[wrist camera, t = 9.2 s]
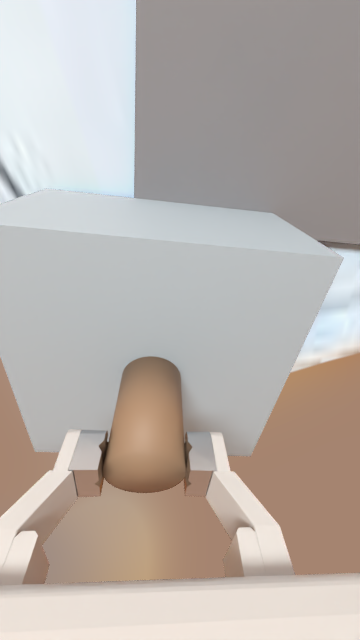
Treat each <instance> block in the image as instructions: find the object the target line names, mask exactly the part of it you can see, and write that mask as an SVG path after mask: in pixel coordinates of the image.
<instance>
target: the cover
mask: <svg viewBox="0 0 360 640" xmlns="http://www.w3.org/2000/svg"><path fill="white" fill-rule="evenodd" d="M343 258H344V257H342V256H341V255H339V254H337V253H336V252H334V251H333V250H331V249H329V248H328V247H326V246H325V245H323V244H321V243H320V242H318V241H317V240H315V239H313V238H312V237H310V236H309V235H307V234H305V233H304V232H302V231H301V230H299V229H297V228H296V227H294V226H293V225H291V224H289V223H288V222H286V221H285V220H283V219H281V218H280V217H278V216H277V215H275V214H273V213H267V212H258V211H249V210H240V209H230V208H221V207H212V206H203V205H194V204H184V203H175V202H166V201H157V200H148V199H138V198H129V197H120V196H111V195H102V194H92V193H83V192H74V191H65V190H56V189H47V188H46V189H43V190H40V191H37V192H34V193H31V194H28V195H25V196H22V197H19V198H16V199H13V200H10V201H7V202H4V203H1V204H0V357H1V360H2V362H3V365H4V368H5V371H6V373H7V376H8V379H9V382H10V384H11V387H12V390H13V392H14V395H15V398H16V401H17V404H18V406H19V409H20V412H21V415H22V417H23V420H24V423H25V426H26V428H27V431H28V434H29V437H30V439H31V442H32V445H33V448H34V450H35V452H60V450H61V447H62V444H63V442H64V439H65V436H66V433H67V432H68V430H69V429H82V430H108V438H107V442H108V447H107V452H106V456H105V461H104V466H103V476H104V478H105V480H106V481H107V482H108V483H109V484H111V485H113V486H114V487H116V488H119V489H122V490H125V491H129V492H137V493H152V492H159V491H163V490H167V489H170V488H172V487H174V486H176V485H177V484H179V483H180V482H181V481H182V480H183V479H184V477H185V472H186V467H185V448H184V443H185V434H186V432H221V433H222V434H223V438H224V443H225V447H226V452H227V456H251V454H252V452H253V450H254V448H255V445H256V444H257V442H258V439H259V437H260V435H261V433H262V431H263V429H264V427H265V425H266V422H267V420H268V418H269V415H270V414H271V412H272V410H273V407H274V405H275V403H276V401H277V399H278V397H279V395H280V393H281V390H282V388H283V386H284V384H285V382H286V380H287V378H288V376H289V373H290V371H291V369H292V367H293V365H294V363H295V361H296V359H297V356H298V354H299V352H300V350H301V348H302V346H303V344H304V341H305V339H306V337H307V335H308V333H309V331H310V329H311V327H312V324H313V322H314V320H315V318H316V316H317V314H318V312H319V310H320V307H321V305H322V303H323V301H324V299H325V297H326V295H327V293H328V290H329V288H330V286H331V284H332V282H333V280H334V278H335V276H336V273H337V271H338V269H339V267H340V265H341V263H342V261H343Z"/></svg>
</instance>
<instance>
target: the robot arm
mask: <svg viewBox="0 0 360 640" xmlns="http://www.w3.org/2000/svg"><path fill="white" fill-rule="evenodd" d="M107 438H108V430H82V429H69V430H68V432H67V433H66V436H65V439H64V442H63V444H62V447H61V450H60V452H59V455H58V458H57V461H56V463H55V466H54V469H53V470H52V471H51V470H50V471H48V472H47V473H46V474H45V475H44V476H43V477H42V478H41V479H40V480H39V481H38V482H36V483H35V485H33V486H32V487H31V488H30V489H29V490H28V491H27V492H26V493H25V494H24V495H23V496H22V497H21V498H20V499H19V500H18V501H17V502H16V503H15V504H14V505H13V506H12V507H11V508H10V509H9V510H7V511H6V512H5V513H4V514H3V515H2V516H1V517H0V640H360V573H336V574H334V573H333V574H308V575H307V574H305V575H295V572H294V570H293V566H292V563H291V560H290V557H289V554H288V550H287V548H286V544H285V541H284V538H283V535H282V532H281V528H280V526H279V525H278V523H277V522H276V521H275V520H274V519H273V517H272V516H271V515H270V514H269V513H268V511H267V510H266V509H265V508H264V506H263V505H262V504H261V503H260V502H259V500H258V499H257V498H256V497H255V496H254V494H253V493H252V492H251V491H250V490H249V489H248V487H247V486H246V485H245V484H244V482H243V481H242V480H241V479H240V478H239V476H238V475H237V474H236V473H235V472H234V471H231V470H230V465H229V461H228V456H227V452H226V447H225V443H224V438H223V434H222V433H221V432H186V434H185V443H184V448H185V467H186V472H185V477H184V489H185V496H206V499H207V501H208V502H209V504H210V506H211V507H212V509H213V511H214V512H215V514H216V516H217V517H218V519H219V521H220V522H221V524H222V526H223V527H224V529H225V531H226V532H227V534H228V535H229V537H230V539H231V540H232V542H231V545H230V546H229V548H228V550H227V552H226V554H225V556H224V558H223V563H224V571H225V577H221V578H191V579H163V580H137V581H136V580H135V581H108V582H79V583H52V584H45V580H46V576H47V573H48V569H49V562H48V559H47V557H46V555H45V552H44V549H43V547H42V545H43V544H44V542H45V541H46V540H47V538H48V537H49V536H50V534H51V533H52V532H53V530H54V529H55V528H56V526H57V525H58V524H59V522H60V521H61V520H62V519H63V517H64V516H65V515H66V513H67V512H68V511H69V509H70V508H71V507H72V505H73V504H74V503H75V502H76V500H77V499H78V497H93V496H100V495H101V490H102V485H103V480H104V476H103V466H104V461H105V456H106V452H107V447H108V442H107Z"/></svg>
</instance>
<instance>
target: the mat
mask: <svg viewBox="0 0 360 640" xmlns="http://www.w3.org/2000/svg"><path fill="white" fill-rule="evenodd" d="M134 198H138V199H148V200H157V201H166V202H175V203H184V204H194V205H203V206H212V207H221V208H230V209H240V210H249V211H258V212H267V213H273V214H275V215H277V216H278V217H280V218H281V219H283V220H285V221H286V222H288V223H289V224H291V225H293V226H294V227H296V228H297V229H299V230H301V231H302V232H304V233H305V234H307V235H309V236H310V237H312V238H313V239H315V240H319V241H329V242H339V243H349V244H360V0H136V81H135V176H134Z"/></svg>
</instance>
